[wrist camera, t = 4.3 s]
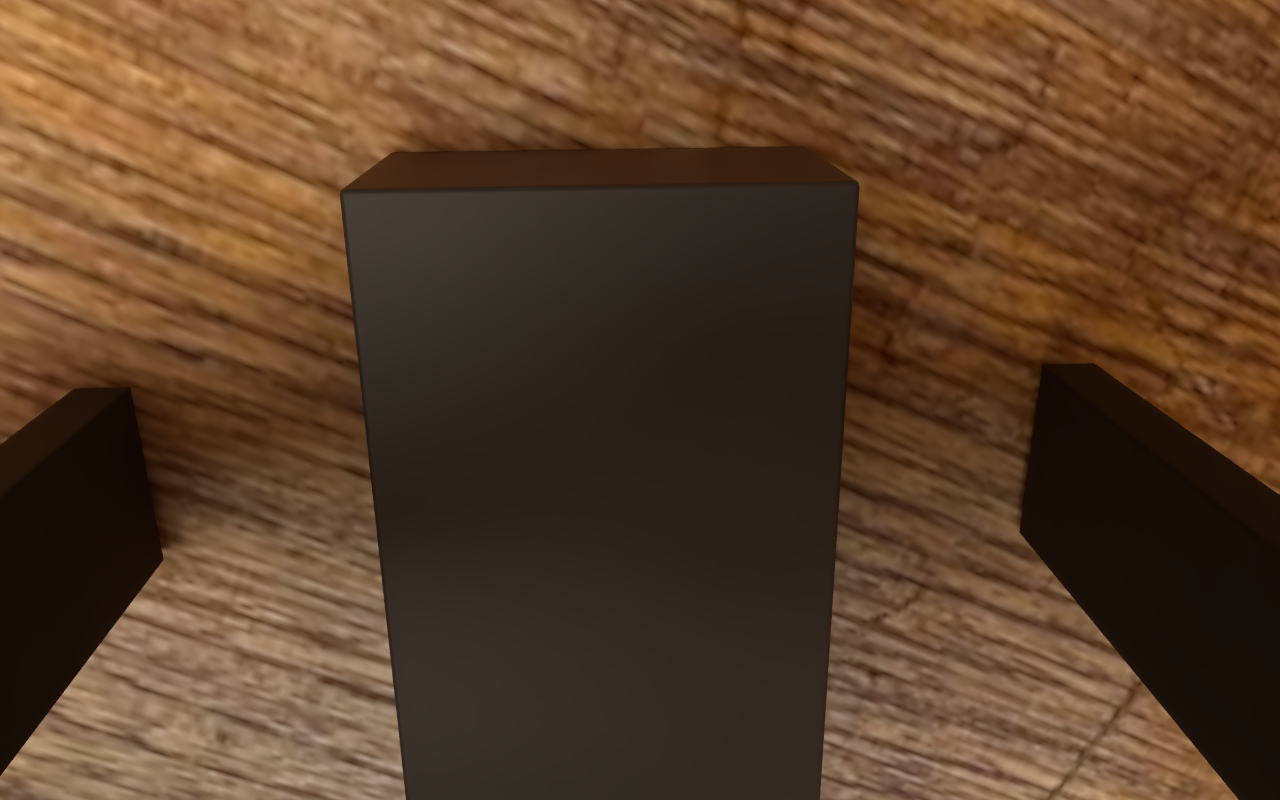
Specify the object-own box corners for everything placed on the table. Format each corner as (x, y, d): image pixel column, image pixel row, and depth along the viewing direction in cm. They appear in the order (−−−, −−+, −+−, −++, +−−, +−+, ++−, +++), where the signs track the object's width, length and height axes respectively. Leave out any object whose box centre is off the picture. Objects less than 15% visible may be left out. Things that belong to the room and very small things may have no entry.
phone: (806, 145, 14) (861, 181, 11) (780, 708, 17) (817, 846, 14) (389, 152, 14) (337, 189, 11) (441, 720, 17) (412, 862, 14)
